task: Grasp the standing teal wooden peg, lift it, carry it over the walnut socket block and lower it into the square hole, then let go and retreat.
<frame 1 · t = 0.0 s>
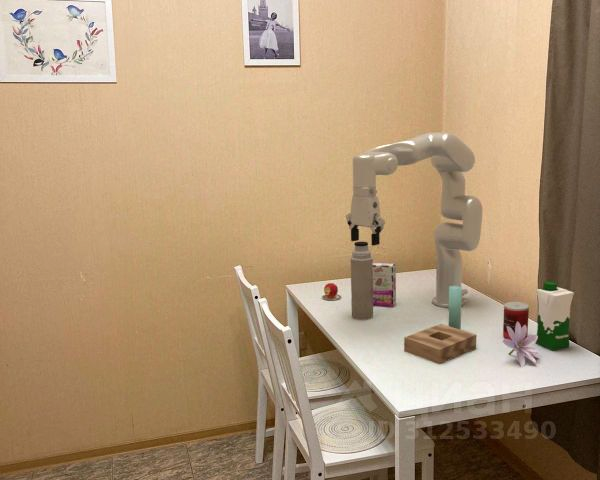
hand: (365, 242, 209), 31 cm above the table, tool pointing down, fingers open, 9 cm apart
apple: (331, 298, 254), on the table
peg: (454, 332, 211), on the table
socket block: (440, 349, 197), on the table
canned food: (515, 337, 205), on the table
milk carton: (552, 346, 197), on the table
thermos bottle: (362, 316, 231), on the table
candy bar box: (380, 305, 244), on the table
water lily: (522, 360, 187), on the table
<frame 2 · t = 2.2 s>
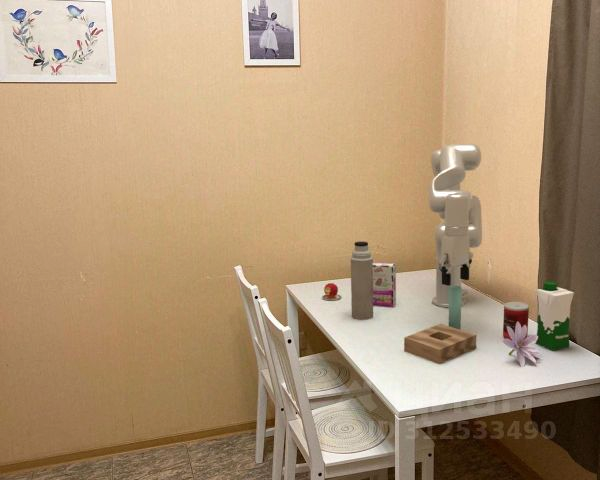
hand: (455, 282, 207), 18 cm above the table, tool pointing down, fingers open, 9 cm apart
nothing on the table moved.
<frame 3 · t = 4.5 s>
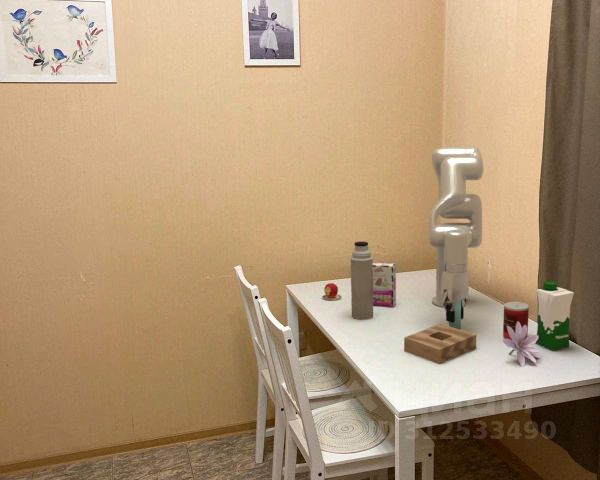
hand: (454, 319, 210), 5 cm above the table, tool pointing down, fingers closed on peg, 4 cm apart
peg: (454, 332, 211), on the table, touching gripper
everything else where it was.
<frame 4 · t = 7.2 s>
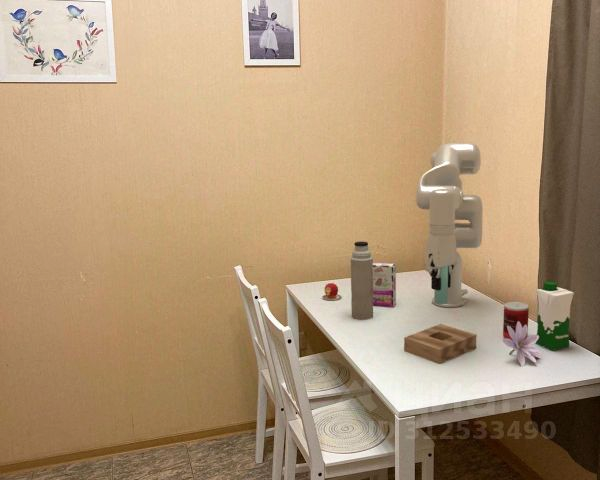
hand: (441, 287, 192), 20 cm above the table, tool pointing down, fingers closed on peg, 4 cm apart
peg: (440, 302, 193), point 16 cm above the table, touching gripper
everything else where it was.
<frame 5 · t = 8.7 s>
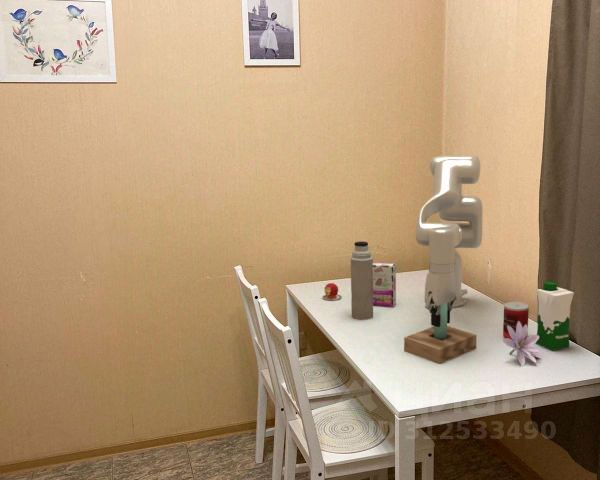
hand: (440, 323, 195), 9 cm above the table, tool pointing down, fingers closed on peg, 4 cm apart
peg: (440, 338, 196), point 4 cm above the table, touching gripper
everything else where it was.
when the fingers open (6 cm above the table, at t = 10.0 s): peg stays where it is, resting in socket block.
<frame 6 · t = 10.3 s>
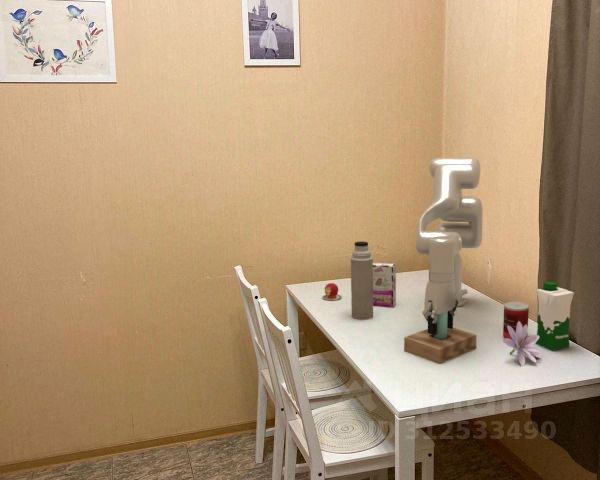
hand: (440, 330, 196), 6 cm above the table, tool pointing down, fingers open, 7 cm apart
peg: (440, 349, 197), resting in socket block
everything else where it was.
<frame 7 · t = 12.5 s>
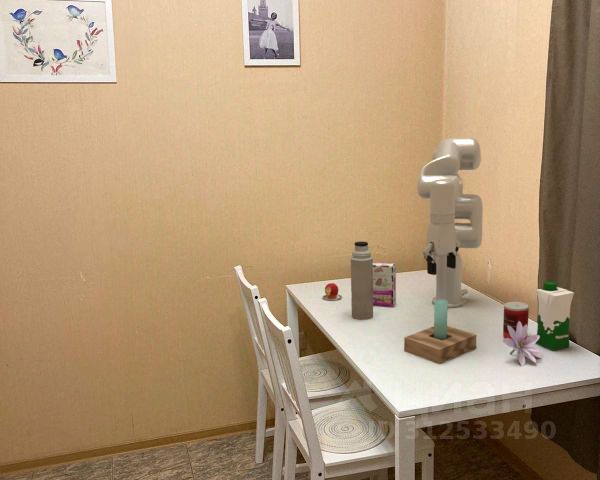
hand: (441, 270, 200), 23 cm above the table, tool pointing down, fingers open, 9 cm apart
nothing on the table moved.
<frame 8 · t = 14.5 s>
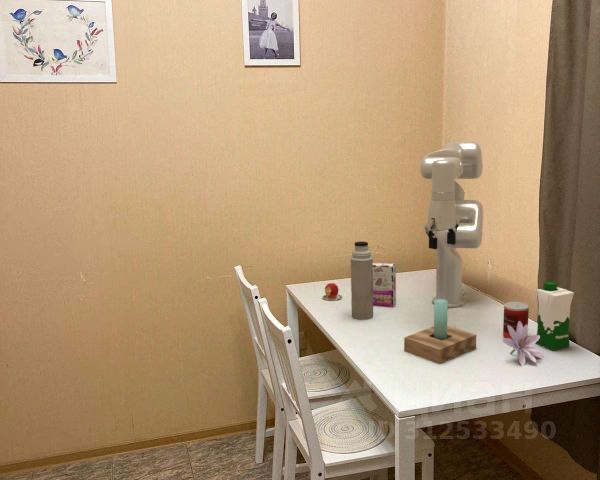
hand: (442, 246, 213), 28 cm above the table, tool pointing down, fingers open, 9 cm apart
nothing on the table moved.
at the end: peg 0.1 cm off-centre on the socket block, point 0.0 cm above the socket block's base; peg tilted 0°; the gripper is holding nothing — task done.
